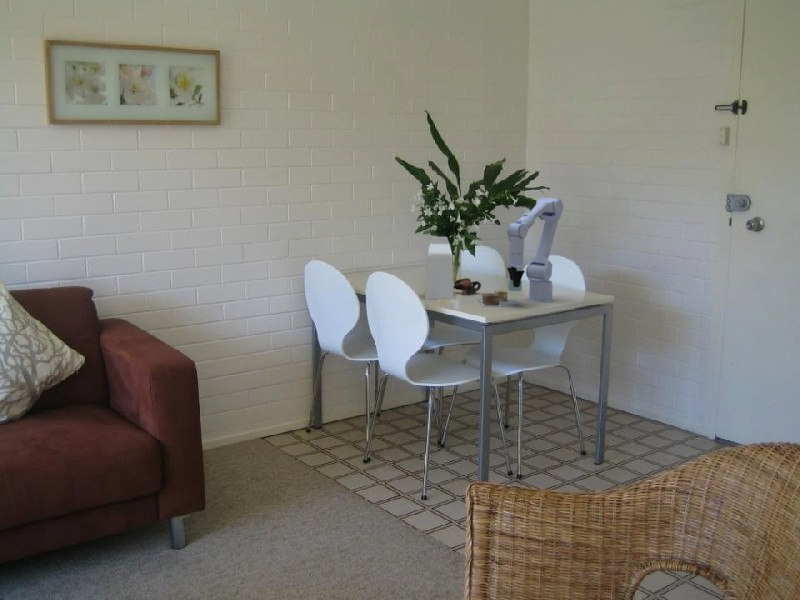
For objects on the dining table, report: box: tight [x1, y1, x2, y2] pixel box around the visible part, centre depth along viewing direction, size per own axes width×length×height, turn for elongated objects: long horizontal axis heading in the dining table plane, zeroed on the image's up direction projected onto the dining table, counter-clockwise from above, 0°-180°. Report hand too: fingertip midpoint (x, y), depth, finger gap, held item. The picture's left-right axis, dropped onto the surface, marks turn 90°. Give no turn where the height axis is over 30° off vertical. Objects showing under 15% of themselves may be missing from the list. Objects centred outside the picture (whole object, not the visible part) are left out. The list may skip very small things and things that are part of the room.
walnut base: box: [481, 292, 500, 306], centre depth 367 cm, size 6×6×4 cm
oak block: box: [494, 289, 508, 302], centre depth 376 cm, size 4×4×4 cm
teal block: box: [507, 279, 523, 292], centre depth 365 cm, size 4×4×4 cm
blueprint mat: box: [476, 298, 525, 308], centre depth 371 cm, size 17×18×1 cm
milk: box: [424, 236, 454, 300], centre depth 383 cm, size 12×12×26 cm
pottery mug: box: [453, 277, 482, 296], centre depth 393 cm, size 12×10×8 cm
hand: (515, 285), depth 365 cm, fingers closed on teal block, 4 cm apart
